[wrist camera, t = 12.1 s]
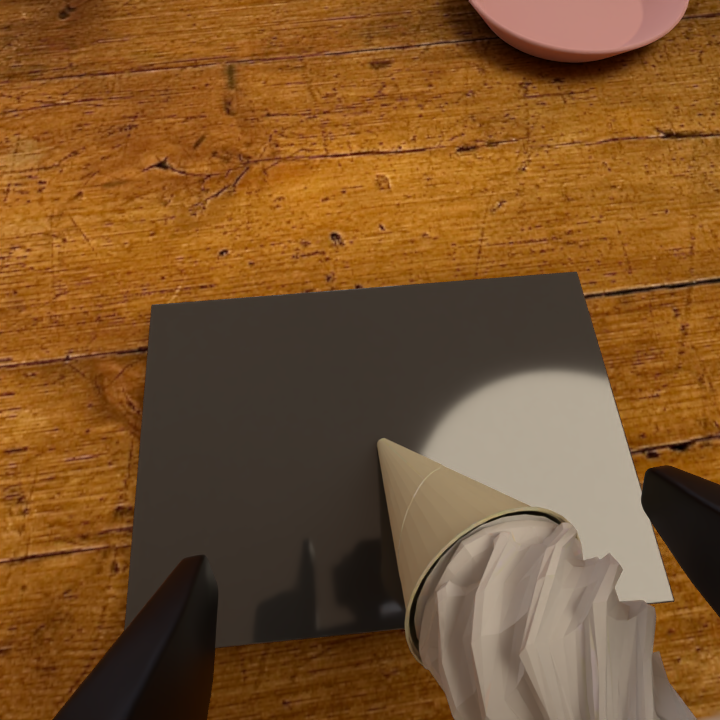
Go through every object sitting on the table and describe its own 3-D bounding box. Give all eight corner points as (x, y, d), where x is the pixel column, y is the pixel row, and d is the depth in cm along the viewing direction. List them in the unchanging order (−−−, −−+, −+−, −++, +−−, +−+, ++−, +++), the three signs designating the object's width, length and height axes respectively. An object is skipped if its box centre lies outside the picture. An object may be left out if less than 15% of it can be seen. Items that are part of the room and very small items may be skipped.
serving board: (651, 596, 18) (675, 601, 17) (140, 647, 17) (121, 658, 16) (564, 287, 23) (577, 271, 21) (164, 318, 22) (151, 304, 21)
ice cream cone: (457, 447, 20) (1013, 970, 6) (362, 519, 19) (740, 1251, 6) (404, 360, 18) (1080, 866, 4) (297, 438, 17) (650, 1300, 4)
